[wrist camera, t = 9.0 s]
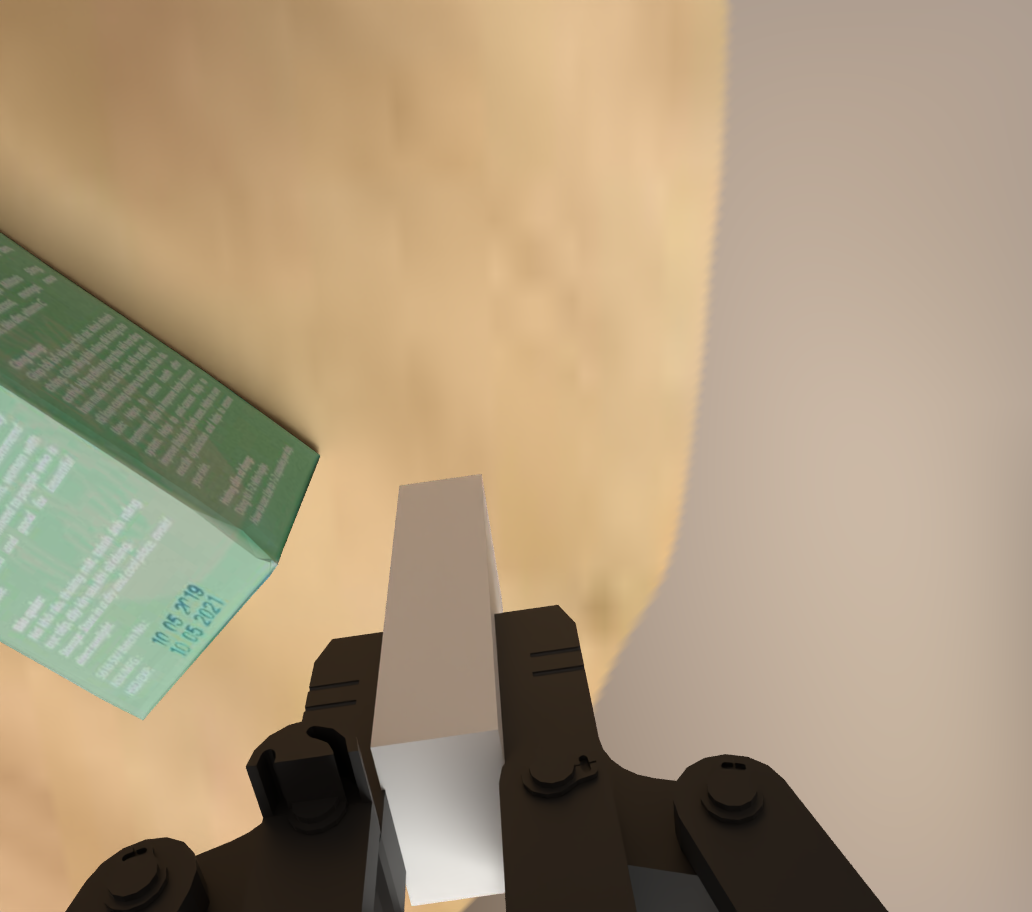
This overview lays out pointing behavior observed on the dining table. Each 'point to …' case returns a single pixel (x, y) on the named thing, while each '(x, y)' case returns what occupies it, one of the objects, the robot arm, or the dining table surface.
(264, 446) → the box
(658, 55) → the dining table surface
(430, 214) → the dining table surface
